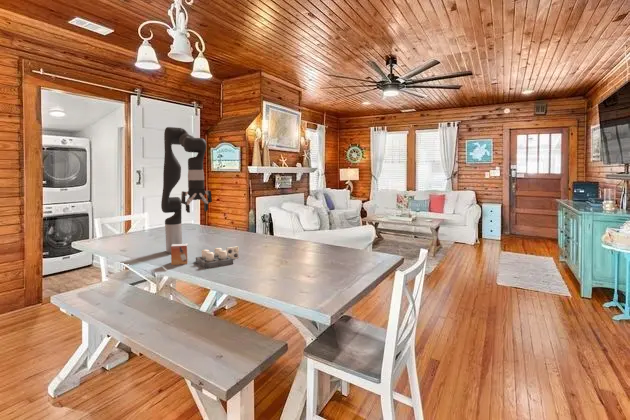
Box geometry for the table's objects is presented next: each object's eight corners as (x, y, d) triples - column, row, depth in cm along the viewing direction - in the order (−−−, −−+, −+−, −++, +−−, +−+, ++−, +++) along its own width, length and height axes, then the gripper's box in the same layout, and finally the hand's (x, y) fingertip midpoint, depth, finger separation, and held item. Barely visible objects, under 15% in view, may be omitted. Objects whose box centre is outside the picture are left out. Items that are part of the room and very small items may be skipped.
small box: (171, 266, 178) (170, 246, 176) (172, 263, 183) (171, 243, 182) (187, 265, 180) (186, 245, 179) (188, 262, 185) (187, 243, 184)
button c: (200, 258, 183) (200, 250, 183) (207, 257, 186) (207, 249, 185) (203, 259, 180) (202, 251, 180) (210, 258, 182) (210, 250, 182)
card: (225, 259, 191) (224, 247, 190) (236, 257, 195) (236, 245, 195) (227, 260, 189) (227, 248, 188) (239, 258, 193) (238, 246, 192)
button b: (218, 259, 182) (218, 251, 181) (225, 257, 184) (224, 250, 184) (221, 260, 179) (220, 252, 178) (227, 259, 181) (227, 251, 181)
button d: (213, 256, 187) (213, 248, 187) (220, 255, 190) (220, 247, 189) (216, 257, 184) (215, 249, 184) (222, 256, 187) (222, 248, 186)
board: (195, 262, 184) (195, 257, 184) (222, 258, 193) (222, 253, 193) (205, 269, 172) (205, 263, 172) (233, 264, 181) (233, 259, 181)
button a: (205, 261, 178) (205, 252, 177) (212, 259, 180) (212, 251, 179) (207, 262, 175) (207, 254, 174) (215, 261, 177) (214, 253, 176)
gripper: (207, 178, 174) (208, 210, 176) (178, 179, 166) (180, 212, 168) (213, 179, 168) (213, 211, 170) (183, 179, 160) (184, 213, 162)
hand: (197, 211), depth 169 cm, fingers open, 8 cm apart
